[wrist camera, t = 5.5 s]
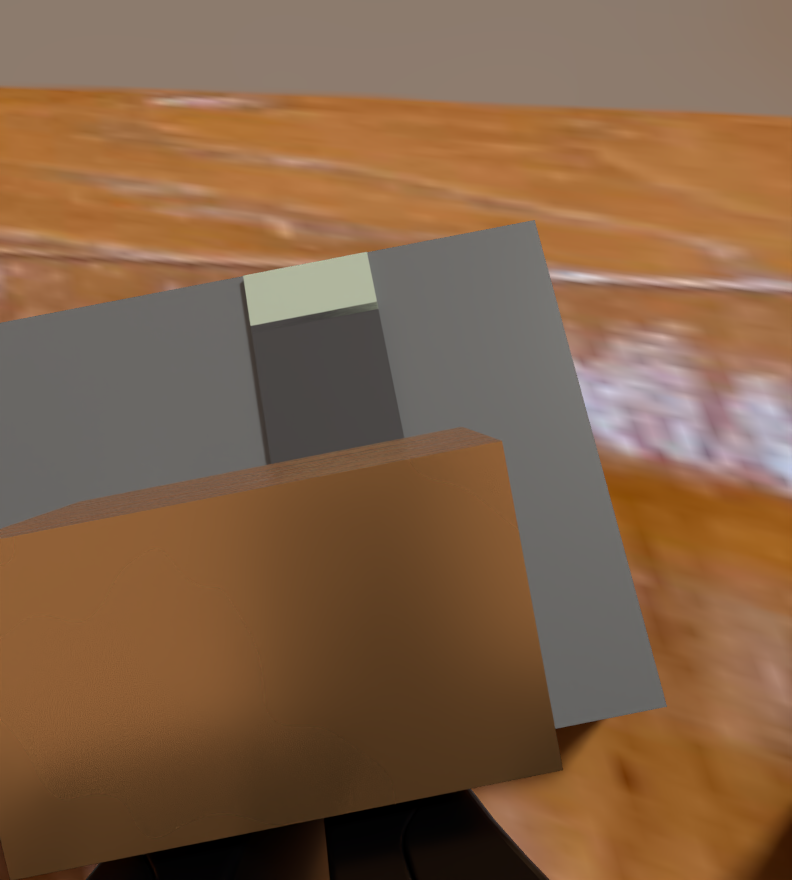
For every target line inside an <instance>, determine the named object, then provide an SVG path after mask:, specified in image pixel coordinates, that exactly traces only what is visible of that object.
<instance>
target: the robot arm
mask: <svg viewBox="0 0 792 880" xmlns="http://www.w3.org/2000/svg"><path fill="white" fill-rule="evenodd" d="M86 880H549V879H548V878H547V877H546V875H545V874H544V873H543V872H542V871H541V870H540V869H539V868H538V867H537V866H536V865H535V864H534V863H533V862H532V861H531V860H530V859H529V858H528V857H527V856H526V855H525V853H524V852H523V851H522V850H521V849H520V848H519V847H518V846H517V844H516V843H515V842H514V841H513V840H512V839H511V838H510V837H509V835H508V834H507V833H506V832H505V831H504V830H503V829H502V828H501V826H500V825H499V824H498V823H497V822H496V821H495V820H494V818H493V817H492V816H491V814H490V813H489V812H488V811H487V809H486V808H485V807H484V805H483V804H482V803H481V801H480V800H479V799H478V797H477V796H476V795H475V794H474V792H473V791H472V790H471V789H466V790H461V791H456V792H451V793H446V794H441V795H436V796H431V797H426V798H421V799H416V800H411V801H406V802H401V803H396V804H391V805H386V806H381V807H376V808H371V809H366V810H361V811H356V812H351V813H346V814H341V815H336V816H331V817H326V818H321V819H316V820H311V821H306V822H301V823H296V824H291V825H286V826H281V827H276V828H271V829H266V830H261V831H256V832H251V833H246V834H241V835H236V836H231V837H226V838H221V839H216V840H211V841H206V842H201V843H196V844H191V845H186V846H181V847H176V848H171V849H166V850H161V851H156V852H151V853H146V854H141V855H136V856H131V857H126V858H121V859H116V860H111V861H106V862H101V863H99V864H98V866H97V867H96V868H95V869H94V870H93V872H92V873H91V874H90V875H89V876H88V878H87V879H86Z"/></svg>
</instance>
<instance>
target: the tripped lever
mask: <svg viewBox="0 0 792 880" xmlns="http://www.w3.org/2000/svg"><path fill="white" fill-rule="evenodd" d="M561 770H563V768H562V762H561V757H560V751H559V746H558V741H557V735H556V730H555V724H554V719H553V713H552V708H551V703H550V697H549V692H548V686H547V681H546V676H545V670H544V665H543V659H542V654H541V649H540V643H539V638H538V632H537V627H536V622H535V616H534V611H533V605H532V600H531V595H530V589H529V584H528V578H527V573H526V567H525V562H524V557H523V551H522V546H521V540H520V535H519V530H518V524H517V519H516V513H515V508H514V503H513V497H512V492H511V486H510V481H509V476H508V470H507V465H506V459H505V454H504V448H503V443H502V441H501V440H498V439H495V438H493V437H490V436H487V435H484V434H481V433H478V432H475V431H473V430H470V429H467V428H464V427H459V428H454V429H449V430H443V431H438V432H433V433H428V434H423V435H418V436H413V437H408V438H402V439H397V440H392V441H387V442H382V443H377V444H372V445H367V446H361V447H356V448H351V449H346V450H341V451H336V452H331V453H326V454H320V455H315V456H310V457H305V458H300V459H295V460H290V461H284V462H279V463H274V464H269V465H264V466H259V467H254V468H249V469H243V470H238V471H233V472H228V473H223V474H218V475H213V476H208V477H202V478H197V479H192V480H187V481H182V482H177V483H172V484H167V485H161V486H156V487H151V488H146V489H141V490H136V491H131V492H126V493H120V494H115V495H110V496H105V497H100V498H95V499H90V500H85V501H80V502H77V503H74V504H71V505H68V506H65V507H62V508H59V509H57V510H54V511H51V512H48V513H45V514H42V515H39V516H36V517H33V518H30V519H27V520H24V521H22V522H19V523H16V524H13V525H10V526H7V527H4V528H1V529H0V840H1V844H2V848H3V853H4V857H5V861H6V865H7V869H8V874H9V878H10V880H17V879H22V878H27V877H32V876H37V875H42V874H47V873H51V872H56V871H61V870H66V869H71V868H76V867H81V866H86V865H91V864H96V863H101V862H106V861H111V860H116V859H121V858H126V857H131V856H136V855H141V854H146V853H151V852H156V851H161V850H166V849H171V848H176V847H181V846H186V845H191V844H196V843H201V842H206V841H211V840H216V839H221V838H226V837H231V836H236V835H241V834H246V833H251V832H256V831H261V830H266V829H271V828H276V827H281V826H286V825H291V824H296V823H301V822H306V821H311V820H316V819H321V818H326V817H331V816H336V815H341V814H346V813H351V812H356V811H361V810H366V809H371V808H376V807H381V806H386V805H391V804H396V803H401V802H406V801H411V800H416V799H421V798H426V797H431V796H436V795H441V794H446V793H451V792H456V791H461V790H466V789H471V788H476V787H481V786H486V785H491V784H496V783H501V782H506V781H511V780H516V779H521V778H526V777H531V776H536V775H541V774H546V773H551V772H556V771H561Z"/></svg>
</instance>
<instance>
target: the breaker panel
mask: <svg viewBox="0 0 792 880" xmlns="http://www.w3.org/2000/svg"><path fill="white" fill-rule="evenodd" d="M459 427H464V428H467V429H470V430H473V431H475V432H478V433H481V434H484V435H487V436H490V437H493V438H495V439H498V440H501V441H502V443H503V448H504V454H505V459H506V465H507V470H508V476H509V481H510V486H511V492H512V497H513V503H514V508H515V513H516V519H517V524H518V530H519V535H520V540H521V546H522V551H523V557H524V562H525V567H526V573H527V578H528V584H529V589H530V595H531V600H532V605H533V611H534V616H535V622H536V627H537V632H538V638H539V643H540V649H541V654H542V659H543V665H544V670H545V676H546V681H547V686H548V692H549V697H550V703H551V708H552V713H553V719H554V724H555V729H557V728H562V727H567V726H572V725H577V724H582V723H587V722H592V721H597V720H602V719H607V718H612V717H617V716H622V715H627V714H632V713H637V712H642V711H647V710H652V709H657V708H662V707H667V705H666V701H665V698H664V694H663V690H662V687H661V683H660V679H659V676H658V672H657V668H656V665H655V661H654V657H653V654H652V650H651V646H650V643H649V639H648V635H647V632H646V628H645V624H644V621H643V617H642V613H641V610H640V606H639V602H638V599H637V595H636V591H635V588H634V584H633V580H632V577H631V573H630V569H629V566H628V562H627V558H626V555H625V551H624V547H623V543H622V540H621V536H620V532H619V529H618V525H617V521H616V518H615V514H614V510H613V507H612V503H611V499H610V496H609V492H608V488H607V485H606V481H605V477H604V474H603V470H602V466H601V463H600V459H599V455H598V452H597V448H596V444H595V441H594V437H593V433H592V430H591V426H590V422H589V419H588V415H587V411H586V408H585V404H584V400H583V397H582V393H581V389H580V386H579V382H578V378H577V375H576V371H575V367H574V364H573V360H572V356H571V353H570V349H569V345H568V342H567V338H566V334H565V331H564V327H563V323H562V319H561V316H560V312H559V308H558V305H557V301H556V297H555V294H554V290H553V286H552V283H551V279H550V275H549V272H548V268H547V264H546V261H545V257H544V253H543V250H542V246H541V242H540V239H539V235H538V231H537V228H536V224H535V220H533V221H528V222H523V223H518V224H512V225H507V226H502V227H497V228H492V229H486V230H481V231H476V232H471V233H466V234H460V235H455V236H450V237H445V238H440V239H434V240H429V241H424V242H419V243H414V244H408V245H403V246H398V247H393V248H388V249H382V250H377V251H372V252H364V253H359V254H354V255H349V256H343V257H338V258H333V259H328V260H323V261H317V262H312V263H307V264H302V265H297V266H291V267H286V268H281V269H276V270H271V271H265V272H260V273H255V274H250V275H245V276H242V277H237V278H232V279H226V280H221V281H216V282H211V283H206V284H200V285H195V286H190V287H185V288H180V289H174V290H169V291H164V292H159V293H154V294H148V295H143V296H138V297H133V298H128V299H122V300H117V301H112V302H107V303H102V304H96V305H91V306H86V307H81V308H76V309H70V310H65V311H60V312H55V313H50V314H44V315H39V316H34V317H29V318H24V319H18V320H13V321H8V322H3V323H0V529H1V528H4V527H7V526H10V525H13V524H16V523H19V522H22V521H24V520H27V519H30V518H33V517H36V516H39V515H42V514H45V513H48V512H51V511H54V510H57V509H59V508H62V507H65V506H68V505H71V504H74V503H77V502H80V501H85V500H90V499H95V498H100V497H105V496H110V495H115V494H120V493H126V492H131V491H136V490H141V489H146V488H151V487H156V486H161V485H167V484H172V483H177V482H182V481H187V480H192V479H197V478H202V477H208V476H213V475H218V474H223V473H228V472H233V471H238V470H243V469H249V468H254V467H259V466H264V465H269V464H274V463H279V462H284V461H290V460H295V459H300V458H305V457H310V456H315V455H320V454H326V453H331V452H336V451H341V450H346V449H351V448H356V447H361V446H367V445H372V444H377V443H382V442H387V441H392V440H397V439H402V438H408V437H413V436H418V435H423V434H428V433H433V432H438V431H443V430H449V429H454V428H459Z"/></svg>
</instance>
